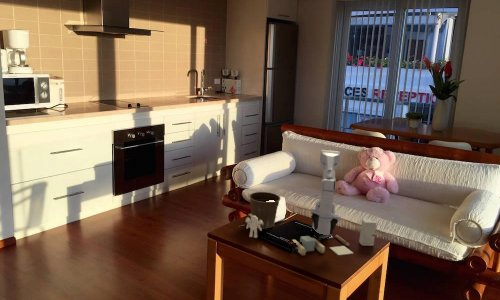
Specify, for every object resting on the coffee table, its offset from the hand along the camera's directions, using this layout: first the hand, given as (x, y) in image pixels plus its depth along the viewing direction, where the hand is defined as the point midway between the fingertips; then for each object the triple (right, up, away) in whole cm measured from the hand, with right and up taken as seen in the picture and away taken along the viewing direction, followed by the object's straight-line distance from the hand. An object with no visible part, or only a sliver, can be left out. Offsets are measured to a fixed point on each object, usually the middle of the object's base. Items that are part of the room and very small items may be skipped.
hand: (323, 231), depth 209 cm
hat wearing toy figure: (-33, -5, +11) cm, 35 cm away
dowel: (+11, -7, +12) cm, 18 cm away
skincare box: (+23, -8, +11) cm, 27 cm away
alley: (-7, -9, +1) cm, 11 cm away
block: (-8, -9, +2) cm, 12 cm away
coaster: (+9, -10, +1) cm, 13 cm away
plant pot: (-28, -2, +26) cm, 38 cm away
